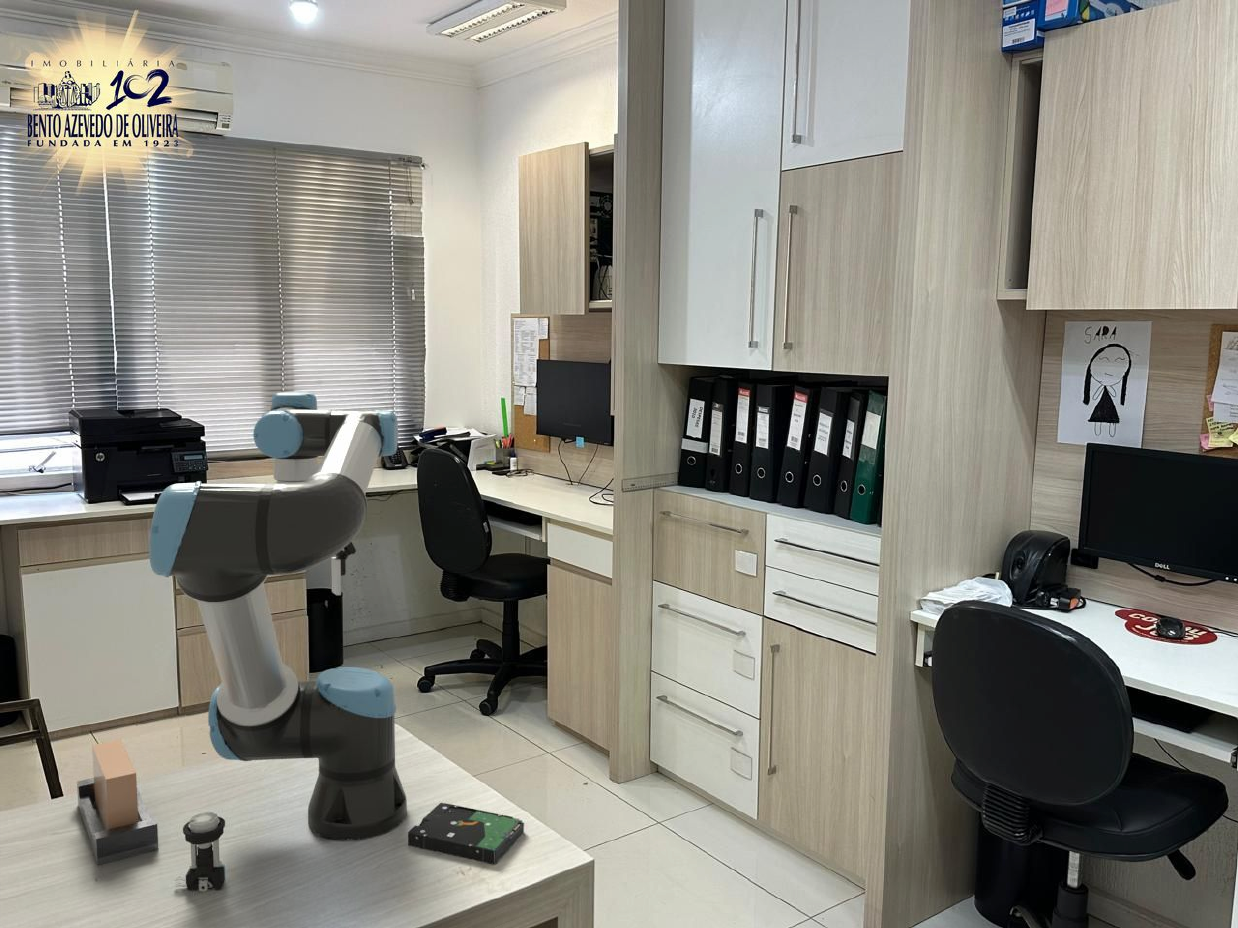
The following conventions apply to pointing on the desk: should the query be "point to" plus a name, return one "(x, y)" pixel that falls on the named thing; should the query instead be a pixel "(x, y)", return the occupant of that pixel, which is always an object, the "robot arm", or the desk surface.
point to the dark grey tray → (115, 829)
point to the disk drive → (466, 833)
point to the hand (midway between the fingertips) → (298, 598)
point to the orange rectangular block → (114, 785)
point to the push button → (204, 853)
